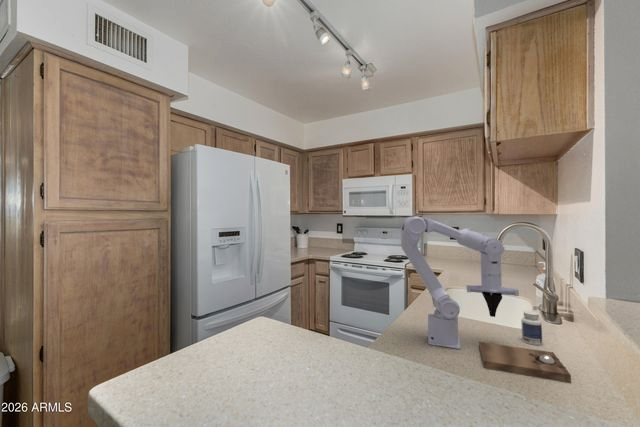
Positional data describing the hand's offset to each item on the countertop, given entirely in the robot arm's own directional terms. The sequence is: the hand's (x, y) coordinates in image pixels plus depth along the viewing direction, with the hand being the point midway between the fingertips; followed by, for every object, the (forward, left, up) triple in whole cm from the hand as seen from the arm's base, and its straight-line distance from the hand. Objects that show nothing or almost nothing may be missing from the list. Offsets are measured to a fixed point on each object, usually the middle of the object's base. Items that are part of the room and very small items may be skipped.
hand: (492, 315), depth 93 cm
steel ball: (+11, -11, -8) cm, 18 cm away
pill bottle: (+12, +7, -10) cm, 17 cm away
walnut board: (+5, -11, -9) cm, 15 cm away
